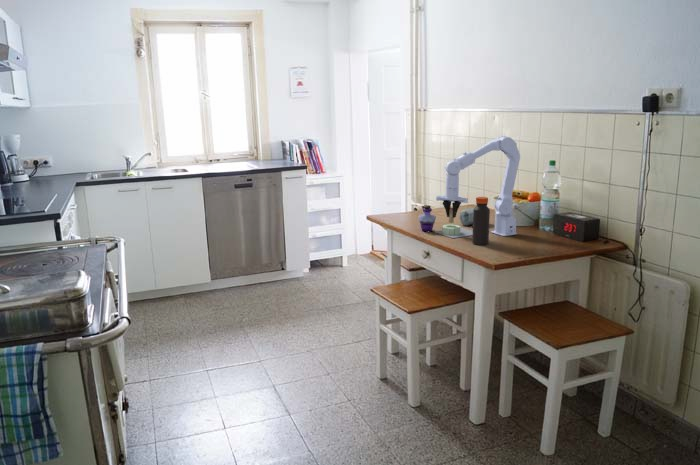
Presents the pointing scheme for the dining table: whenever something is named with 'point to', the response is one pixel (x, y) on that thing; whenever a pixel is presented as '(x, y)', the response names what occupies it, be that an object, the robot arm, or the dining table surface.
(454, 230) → the bead
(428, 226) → the potion bottle
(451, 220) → the wooden dowel
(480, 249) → the dining table surface
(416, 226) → the dining table surface
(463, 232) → the mat
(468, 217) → the yarn skein
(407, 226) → the dining table surface
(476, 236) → the vinegar
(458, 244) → the dining table surface
